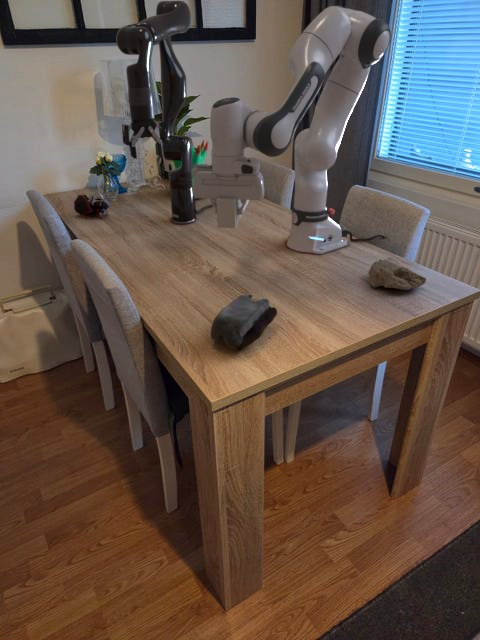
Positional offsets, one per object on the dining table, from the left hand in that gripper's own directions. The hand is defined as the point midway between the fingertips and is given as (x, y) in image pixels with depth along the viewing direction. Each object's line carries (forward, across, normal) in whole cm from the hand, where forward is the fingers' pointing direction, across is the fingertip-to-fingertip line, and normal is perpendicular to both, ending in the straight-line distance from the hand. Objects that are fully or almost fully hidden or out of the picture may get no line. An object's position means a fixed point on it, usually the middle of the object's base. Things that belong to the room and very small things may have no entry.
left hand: (146, 156), depth 148 cm
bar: (+13, +14, -32) cm, 37 cm away
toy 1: (+31, -9, +43) cm, 53 cm away
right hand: (+10, +7, -40) cm, 41 cm away
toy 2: (+31, +41, +47) cm, 70 cm away
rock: (+31, -8, -69) cm, 76 cm away
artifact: (+31, +46, -70) cm, 89 cm away
